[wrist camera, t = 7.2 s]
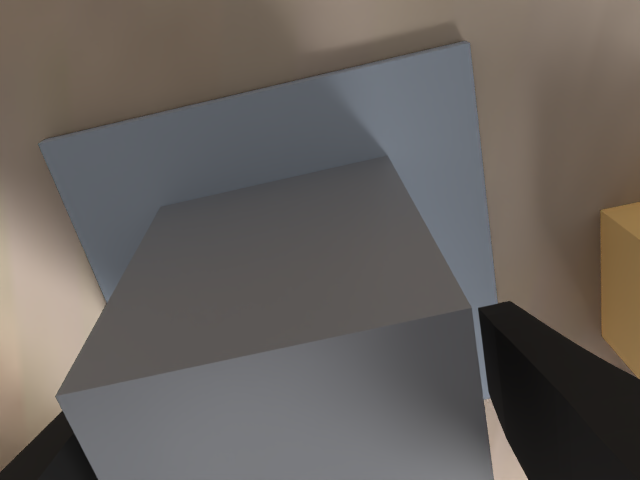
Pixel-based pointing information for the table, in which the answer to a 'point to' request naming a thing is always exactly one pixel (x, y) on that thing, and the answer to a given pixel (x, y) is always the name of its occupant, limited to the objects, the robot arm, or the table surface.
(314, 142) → the slate mat
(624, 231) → the ochre cube
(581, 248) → the table surface
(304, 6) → the table surface
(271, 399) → the blue-gray cube on pad
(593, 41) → the table surface
